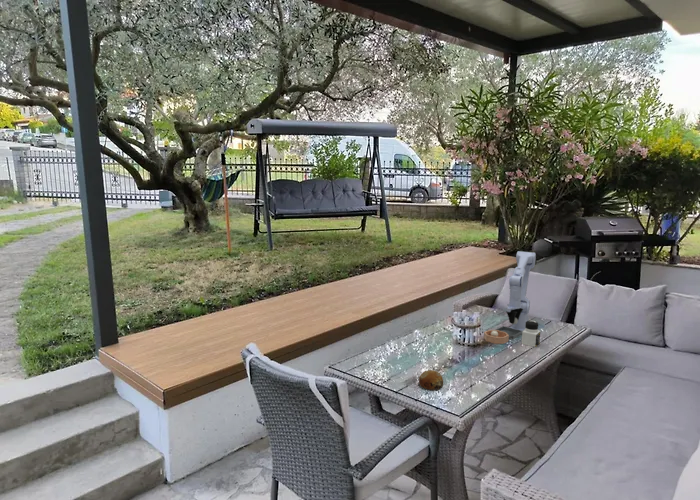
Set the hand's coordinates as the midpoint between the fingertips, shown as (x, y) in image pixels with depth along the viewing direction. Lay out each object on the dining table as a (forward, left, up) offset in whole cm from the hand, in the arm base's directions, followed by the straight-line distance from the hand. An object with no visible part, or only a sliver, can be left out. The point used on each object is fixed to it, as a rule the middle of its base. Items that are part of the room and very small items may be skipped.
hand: (513, 322), depth 255 cm
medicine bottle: (+5, +12, -8) cm, 15 cm away
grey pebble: (0, 0, -1) cm, 1 cm away
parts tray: (0, -3, -8) cm, 8 cm away
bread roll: (+81, +6, -8) cm, 81 cm away
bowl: (+13, -3, -8) cm, 15 cm away
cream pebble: (+12, -4, -7) cm, 14 cm away
